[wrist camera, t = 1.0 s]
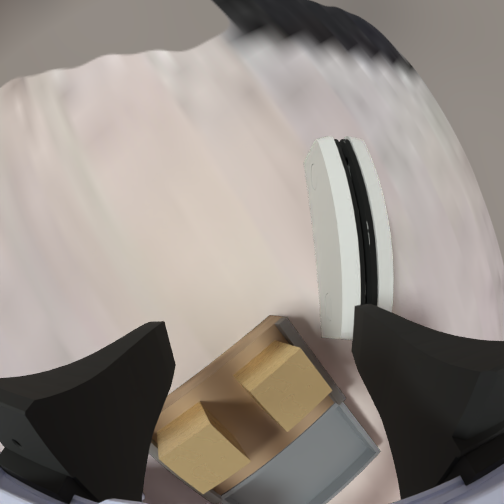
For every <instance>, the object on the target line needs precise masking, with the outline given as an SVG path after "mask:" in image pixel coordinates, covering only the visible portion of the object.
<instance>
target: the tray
mask: <svg viewBox="0 0 504 504" xmlns="http://www.w3.org/2000/svg"><path fill="white" fill-rule="evenodd" d="M380 452H381V451H380V449H379V448H378V447H377V446H376V444H375V443H374V442H373V440H372V439H371V438H370V436H369V435H368V434H367V433H366V431H365V430H364V429H363V427H362V426H361V425H360V423H359V422H358V421H357V420H356V418H355V417H354V416H353V414H352V413H351V412H350V410H349V409H348V408H347V406H346V405H345V404H344V402H342V403H341V404H340V405H338V404H336V403H334V404H333V405H332V406H331V407H329V408H328V409H327V410H326V411H325V412H324V413H323V414H322V415H321V416H320V417H319V418H318V419H317V420H316V421H315V422H314V423H313V424H312V425H311V426H310V427H308V428H307V429H306V430H305V431H304V432H303V433H302V434H301V435H299V436H298V437H297V438H296V439H295V440H294V441H293V442H291V443H290V444H289V445H288V446H287V447H285V448H284V449H283V450H282V451H281V452H279V453H278V454H277V455H276V456H274V457H273V458H272V459H271V460H269V461H268V462H267V463H266V464H264V465H263V466H262V467H260V468H259V469H258V470H256V471H255V472H254V473H252V474H251V475H250V476H248V477H247V478H245V479H244V480H243V481H241V482H240V483H238V484H237V485H235V486H234V487H232V488H231V489H229V490H228V491H226V492H225V493H223V494H222V495H221V498H222V500H223V501H221V502H220V503H222V504H326V503H328V502H329V501H330V500H331V499H332V498H333V497H335V496H336V495H337V494H338V493H339V492H340V491H341V490H343V489H344V488H345V487H346V486H347V485H348V484H349V483H350V482H351V481H352V480H353V479H354V478H355V477H356V476H357V475H359V474H360V473H361V472H362V471H363V470H364V469H365V468H366V467H367V466H368V464H369V463H370V462H371V461H372V460H373V459H374V458H375V457H376V456H377V455H378V454H379V453H380Z"/></svg>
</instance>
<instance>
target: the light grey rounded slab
mask: <svg viewBox="0 0 504 504" xmlns="http://www.w3.org/2000/svg"><path fill="white" fill-rule="evenodd" d="M304 170H305V177H306V184H307V191H308V198H309V206H310V214H311V222H312V230H313V239H314V248H315V258H316V269H317V279H318V291H319V304H320V318H321V334H322V338H334V339H347V340H353V326H354V308H355V306H357V305H364V304H372V305H375V306H378V307H380V308H383V309H385V310H387V311H389V312H391V313H392V305H393V283H394V281H393V255H392V243H391V234H390V227H389V221H388V215H387V210H386V205H385V200H384V196H383V192H382V189H381V185H380V182H379V178H378V175H377V172H376V169H375V166H374V164H373V161H372V158H371V156H370V154H369V151H368V149H367V147H366V145H365V143H364V141H363V140H362V139H359V138H354V137H349V136H346V137H345V138H344V139H341V140H340V142H339V141H338V140H337V139H334V138H333V137H332V136H327V137H323V138H319V139H316V140H315V141H314V143H313V145H312V147H311V149H310V151H309V153H308V155H307V157H306V159H305V161H304Z"/></svg>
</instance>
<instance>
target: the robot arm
mask: <svg viewBox="0 0 504 504" xmlns="http://www.w3.org/2000/svg"><path fill="white" fill-rule="evenodd" d="M352 353H353V357H354V360H355V363H356V366H357V369H358V372H359V374H360V376H361V378H362V380H363V382H364V384H365V386H366V388H367V390H368V392H369V394H370V396H371V398H372V400H373V402H374V404H375V406H376V408H377V410H378V412H379V414H380V417H381V419H382V422H383V425H384V428H385V431H386V434H387V438H388V441H389V445H390V448H391V452H392V456H393V460H394V464H395V469H396V473H397V478H398V483H399V490H400V496H401V500H399V501H396V502H393V503H390V504H504V341H487V340H477V339H471V338H465V337H459V336H454V335H450V334H447V333H443V332H439V331H436V330H433V329H430V328H427V327H425V326H422V325H419V324H417V323H414V322H412V321H409V320H407V319H405V318H402V317H400V316H398V315H396V314H394V313H391V312H389V311H387V310H385V309H383V308H380V307H378V306H375V305H372V304H364V305H357V306H355V308H354V326H353V341H352ZM175 365H176V364H175V361H174V357H173V353H172V350H171V346H170V342H169V338H168V334H167V330H166V326H165V322H164V321H162V322H148V323H146V324H144V325H142V326H140V327H138V328H137V329H135V330H133V331H132V332H130V333H128V334H127V335H125V336H123V337H122V338H120V339H118V340H117V341H115V342H113V343H112V344H110V345H108V346H106V347H104V348H103V349H101V350H99V351H97V352H95V353H93V354H91V355H89V356H87V357H85V358H83V359H80V360H78V361H76V362H73V363H71V364H68V365H65V366H62V367H59V368H56V369H52V370H49V371H46V372H41V373H37V374H32V375H26V376H20V377H10V378H0V442H1V443H2V445H3V446H4V447H5V448H4V449H3V451H2V452H0V504H148V503H143V502H142V500H144V499H145V495H144V493H143V484H144V476H145V470H146V464H147V459H148V453H149V449H150V444H151V440H152V436H153V433H154V429H155V426H156V424H157V421H158V419H159V416H160V413H161V411H162V408H163V406H164V403H165V400H166V398H167V395H168V392H169V390H170V387H171V384H172V380H173V375H174V370H175Z"/></svg>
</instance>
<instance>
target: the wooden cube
mask: <svg viewBox="0 0 504 504" xmlns="http://www.w3.org/2000/svg"><path fill="white" fill-rule="evenodd" d="M157 442H158V457H159V460H161V461H162V462H163V463H164V464H165V465H166V466H167V467H169V468H170V469H171V470H172V471H173V472H175V473H176V474H177V475H178V476H180V477H181V478H182V479H183V480H185V481H186V482H187V483H189V484H190V485H191V486H192V487H194V488H195V489H197V490H198V491H199V492H201V493H202V494H204V493H206V492H208V491H209V490H211V489H212V488H214V487H215V486H217V485H218V484H220V483H221V482H223V481H224V480H226V479H227V478H229V477H230V476H232V475H233V474H235V473H236V472H237V471H239V470H240V469H242V468H243V467H244V466H246V465H247V464H248V463H250V462H251V460H250V459H249V457H248V456H247V455H246V453H245V452H244V450H243V449H242V447H241V446H240V444H239V443H238V441H237V440H236V438H235V437H234V436H233V435H232V434H231V433H230V432H229V431H228V430H227V429H226V428H225V427H224V426H223V425H222V424H221V423H220V422H219V421H218V420H217V419H216V418H215V417H214V416H213V415H212V414H211V413H210V412H209V411H208V410H207V409H206V407H205V406H204V405H203V404H202V403H201V402H200V401H199V402H198V403H197V404H195V405H194V406H192V407H191V408H190V409H188V410H187V411H186V412H184V413H183V414H182V415H180V416H179V417H177V418H176V419H175V420H173V421H172V422H170V423H169V424H167V425H166V426H165V427H163V428H162V429H160V430H159V431H157Z"/></svg>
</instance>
